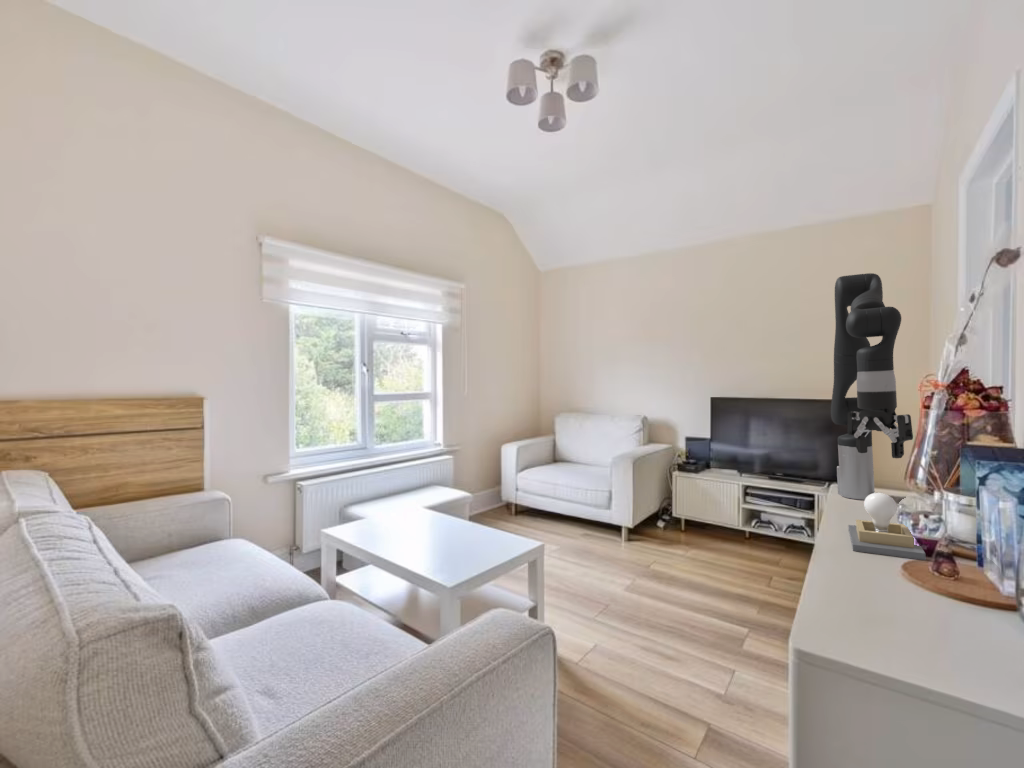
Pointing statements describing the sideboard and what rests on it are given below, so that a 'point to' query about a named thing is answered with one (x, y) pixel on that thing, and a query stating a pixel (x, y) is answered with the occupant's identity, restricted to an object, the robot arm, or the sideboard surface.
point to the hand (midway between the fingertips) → (879, 455)
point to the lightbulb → (880, 510)
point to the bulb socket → (884, 540)
